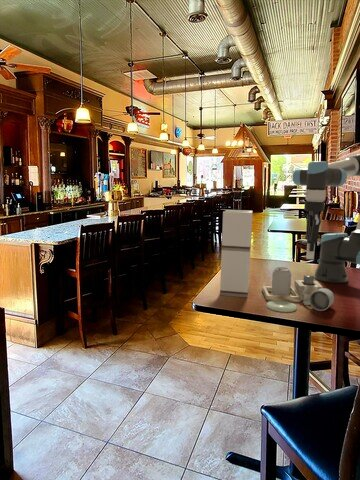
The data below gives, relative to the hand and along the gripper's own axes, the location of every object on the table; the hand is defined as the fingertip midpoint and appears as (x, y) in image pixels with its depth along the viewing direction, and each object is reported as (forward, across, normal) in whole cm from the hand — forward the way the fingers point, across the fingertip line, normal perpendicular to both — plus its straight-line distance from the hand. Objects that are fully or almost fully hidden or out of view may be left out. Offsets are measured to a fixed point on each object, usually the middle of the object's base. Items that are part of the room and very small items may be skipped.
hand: (309, 258), depth 149 cm
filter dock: (+17, 0, -6) cm, 18 cm away
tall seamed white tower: (+17, -2, -30) cm, 34 cm away
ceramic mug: (+17, +12, +1) cm, 21 cm away
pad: (+17, +14, -13) cm, 25 cm away
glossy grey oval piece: (+13, 0, 0) cm, 13 cm away
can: (+17, 0, -11) cm, 20 cm away
